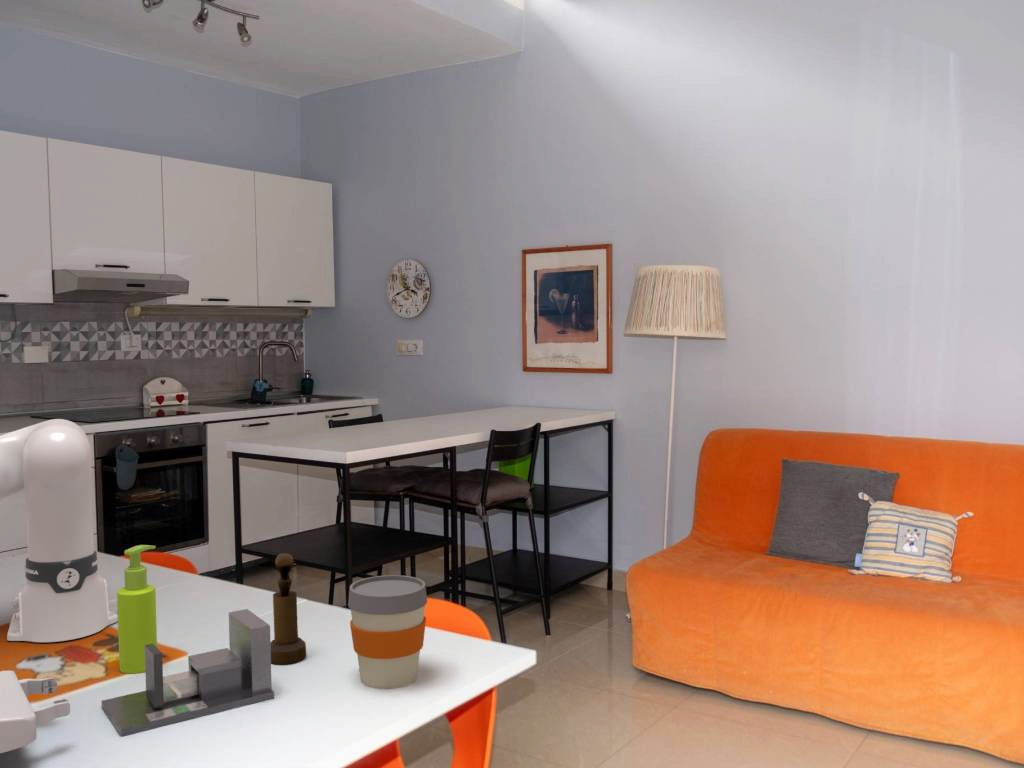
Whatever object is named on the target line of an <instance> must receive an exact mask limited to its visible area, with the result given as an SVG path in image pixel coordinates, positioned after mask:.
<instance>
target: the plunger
mask: <svg viewBox="0 0 1024 768" xmlns="http://www.w3.org/2000/svg"><path fill="white" fill-rule="evenodd" d="M163 667H164V666H163V652H162V651H161V650H160V649H159V648H158V646H157V647H156V646H155V645H154V644H153V643H152V644H147V645H145V672H144V673H145V691H146V698H147V699H148V700H149V702H150V703H151V704H152V705H153V707H154V708H155V709H157V708H161V707H164V702H168V701H172V700H176V699H181V698H185V697H189V696H193V695H198V694H199V673H198V672H197V671H196V670H191V671H189V670H187V671H184V672H178V673H174V674H171V675H170V674H169V675H164V672H163V671H164V669H163Z"/></svg>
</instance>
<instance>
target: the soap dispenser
mask: <svg viewBox="0 0 1024 768" xmlns="http://www.w3.org/2000/svg"><path fill="white" fill-rule="evenodd" d="M156 547H157V546H156V545H148V544H139V545H135V546H132V547H130V548H128V549H125V550H124V552H123V553H124V555H127V556H128V555H129V566H127V567H126V568H124V570H123V571H124V587H121V588H119V589H118V590H117V591H116V603H117V604H116V606H117V607H116V608H117V615H118V621H117V628H118V629H117V630H118V631H117V632H118V633H117V635H118V636H117V637H118V661H119V663H118V664H119V671H120V672H121V673H123V674H141V673H145V645H147V644H152V643H153V644H154V645H155V646H156V647H157V648H158V630H157V604H156V603H157V602H156V596H157V595H156V587H155V586H154V585H151V584H148V575H147V574H148V572H147V567H146V566H145V565H143V564H142V558H141V557H142V556H141V555H142V554H141V553H144V551H148V550H155V549H156Z"/></svg>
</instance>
